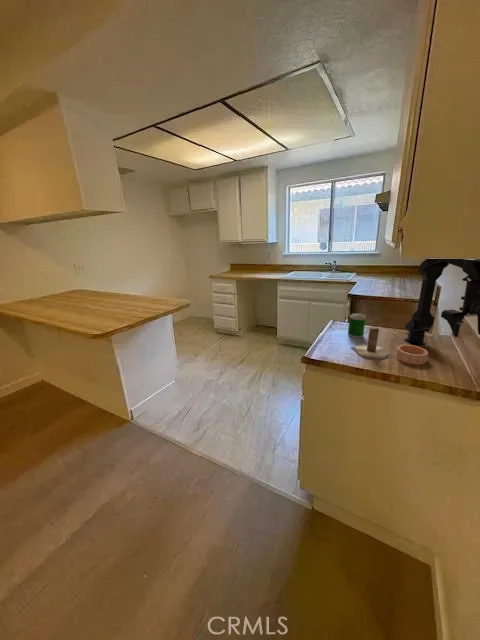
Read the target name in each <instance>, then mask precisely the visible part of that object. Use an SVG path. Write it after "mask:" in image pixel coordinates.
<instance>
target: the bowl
mask: <svg viewBox="0 0 480 640" xmlns="http://www.w3.org/2000/svg"><path fill="white" fill-rule="evenodd" d="M394 356H395V358H396V359H398V360H399V361H401V362H403V363H406V364H410V365H418V366H419V365H424V364H426V363H427V360H428V356H429V352H428V350H427V349H426V348H423V347H421V346H418V345H413V344H399V345H397V346H396V350H395V355H394Z"/></svg>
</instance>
